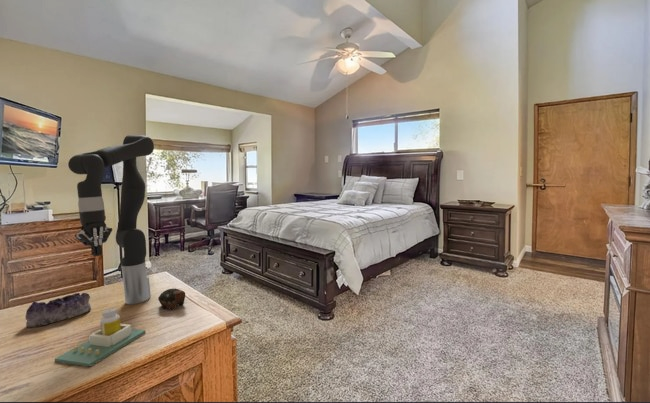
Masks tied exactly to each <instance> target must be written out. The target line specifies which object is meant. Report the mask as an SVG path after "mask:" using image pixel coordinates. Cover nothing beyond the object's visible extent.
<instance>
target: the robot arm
mask: <svg viewBox="0 0 650 403" xmlns="http://www.w3.org/2000/svg"><path fill="white" fill-rule="evenodd" d="M154 149H155V143H154V141H153V139H152V138H151V137H149V136H146V135H143V134H142V135H140V134H139V135H138V134H137V135H136V134H135V135H134V134H128V135H126V136H125V137H124V138H123V141H122V144H118V145H111V146H107V147H103V148H101V149H98V150H94V151H91V152H85V153H80V154H76V155H75V154H74V155H73V156H72V157H70V159H68V163H67V164H68V168H69V169H68V170H70V171H71V172H72V173H74V174H77V175H86V177H85V179H84V180H82V181H79V182H78V183H77V185H76V190H77V196H78V197H77V199H78V202H77V203H78V204H77V206H78V214H79V222H80V224H81V227H80V231H79V232H78V233H75V234H74V237H75V238H76V239H77V240H78V241H79V242H81V243H82V244H83V245H84V246H86V247H88V246H89V247H90V251H91V255H92V256H93V257H99V256H102V254H103V248H102V244H104V243H106V242H107V241H108V239H109V238H110V235H111V233H112V232H113V228H112V227H108V226H107V224H106V222H105V221H106V211H105V210H106V209H105V204H104V199H103V191H102V182H103V177H104V172H105V169H106V168H109V167H111V166H114V165H117V164H119V163H122V180H121V181H122V182H121V190H120V205H119V218H118V222H117V228H116V234H115V242H116V244H117V245H118V247H120V248H121V249H122V248H123V257H121V260H120V265H121V272H122V273H121V274H122V282H123V283H122V284H123V291H124V292H123V294H124V301H125V304H126V305H137V304H141V303H143V302H144V303H145V302H146V301H148V300H149V299H150V298H151V285H150V278H149V276H148V274H147V273H148V272H147V265H146V257H147V242H146V241H147V240H146V239H147V238H146V234H145V233H144V232H143V231H142V230H141V229H139V228H137V222H138V215H139V214H140V211H141V209H142V207H143V204H144V202H145V198H146V197H145V196H146V183H145V181H144V179H143V176H142V175H141V174H140V171H139V169H138V167H137V158H138V157H139V158H140V157H146V156H150V155H152V153H153V152H154Z"/></svg>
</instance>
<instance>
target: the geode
mask: <svg viewBox="0 0 650 403" xmlns="http://www.w3.org/2000/svg"><path fill="white" fill-rule="evenodd" d="M90 299H91V296H90V294H89V293H87V292H82V293H81V294H80V292H76V293H72V294H69V295H65V296H62V297H61V298H60V297H58V298H55V299H51V300H49V301H48V302H47V303H46V302H45V301H41V302H37V301H35V300H34V301H33V302H32V303H31V305H30V306H29V307H28V308H27V309H26V314H25V320H26V322H25V325H26V326H25V327H26V329H34V328H40V327H43V326H47V325H49V324H53V323H56V322H60V321H64V320H66V319H72V318H75V317H77V316H80V315H83V314H86V313H87V312H90V311H91V310H92V307H91V303H89V302H90ZM33 327H34V328H33Z"/></svg>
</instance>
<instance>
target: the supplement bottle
mask: <svg viewBox="0 0 650 403" xmlns="http://www.w3.org/2000/svg"><path fill="white" fill-rule="evenodd" d="M117 312H118V311H117V308H116V307H110V308H107V309H104V310H103V311H101V314H102V318H101V319H100V329H101V331H102V335H105V336H110V335H112V334H114V333H116V332H117V331H119V330H121V325H120V324H121V318H120V315H119V314H118V313H117Z"/></svg>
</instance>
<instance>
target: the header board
mask: <svg viewBox="0 0 650 403" xmlns="http://www.w3.org/2000/svg"><path fill="white" fill-rule="evenodd" d="M120 325H121V330H119V331H117V332H116V333H114V334H112V335H110V336H105V335H102V331H101V328H100V329H98V330H96V331H94V332H92V333H91V334H90V335H89V336H88V339H89V340H87V341H85V342H83V343H82V344H79V345H78V346H77V345H75V346H73V348H72V349H70V350H69V351H66V352H64V353H63V354H60V355H58V356H56V357H55V358H54V362H55V363H63V364H67V363H68V365H73V364H75V365H74V366H79V365H84V366H83V367H86V366H91V365H92V366H94V365H95V364H94V363H96V362H97V363H98V361H99V360H101V359H102V360H103V358H104V359H106V358H108V357H109V356H111V354H113V353H116V352H117V351H119V350H120V349H122V348H124V347H125V346H127V345H129V344H130V343H131V342H134V341H135V340H136V339H138V338H140V337H142V336H143V335H144V334H146V330H144V329H136V328H132V324H128V323H126V324H125V323H120ZM102 360H101V361H102ZM99 362H100V361H99ZM97 363H96V364H97ZM93 364H94V365H93ZM92 366H91V367H92Z"/></svg>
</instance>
